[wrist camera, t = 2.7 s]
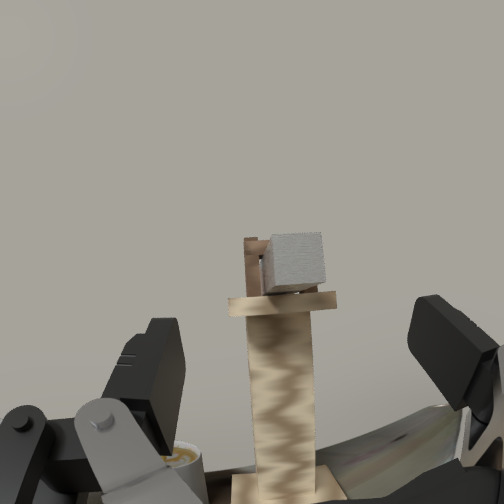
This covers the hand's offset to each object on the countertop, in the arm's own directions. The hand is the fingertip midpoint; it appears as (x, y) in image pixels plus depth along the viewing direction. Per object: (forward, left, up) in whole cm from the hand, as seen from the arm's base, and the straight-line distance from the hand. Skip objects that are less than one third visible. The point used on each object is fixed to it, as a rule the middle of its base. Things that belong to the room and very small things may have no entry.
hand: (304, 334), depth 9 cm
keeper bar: (+3, +26, +3) cm, 26 cm away
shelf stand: (+3, +31, -30) cm, 43 cm away
